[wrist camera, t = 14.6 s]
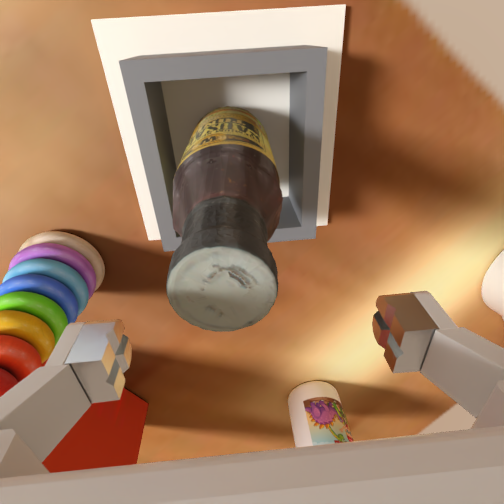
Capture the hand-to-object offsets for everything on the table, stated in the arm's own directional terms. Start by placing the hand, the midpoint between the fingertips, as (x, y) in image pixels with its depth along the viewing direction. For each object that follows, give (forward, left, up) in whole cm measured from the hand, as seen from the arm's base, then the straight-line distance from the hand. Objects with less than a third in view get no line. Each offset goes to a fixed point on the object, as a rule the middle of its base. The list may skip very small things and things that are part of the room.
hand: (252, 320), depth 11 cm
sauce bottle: (0, 0, -21) cm, 21 cm away
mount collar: (0, 0, -22) cm, 22 cm away
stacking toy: (+18, +11, -22) cm, 30 cm away
